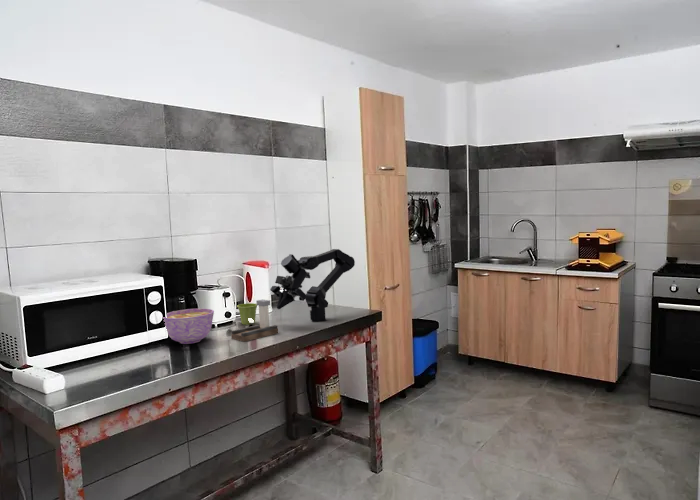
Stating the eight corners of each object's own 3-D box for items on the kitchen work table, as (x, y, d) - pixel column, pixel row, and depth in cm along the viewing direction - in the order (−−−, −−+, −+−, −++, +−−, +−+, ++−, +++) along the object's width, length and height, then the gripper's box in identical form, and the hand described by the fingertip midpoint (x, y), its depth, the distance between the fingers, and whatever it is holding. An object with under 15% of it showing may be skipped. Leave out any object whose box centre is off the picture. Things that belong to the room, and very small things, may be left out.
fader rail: (265, 330, 219) (264, 323, 219) (278, 333, 213) (277, 325, 212) (231, 338, 207) (231, 330, 206) (244, 341, 200) (243, 333, 200)
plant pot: (261, 321, 239) (260, 302, 238) (255, 325, 230) (254, 306, 229) (241, 321, 240) (240, 303, 239) (235, 326, 231) (234, 307, 230)
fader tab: (264, 326, 216) (262, 299, 215) (271, 328, 212) (270, 300, 212) (258, 327, 214) (256, 300, 213) (265, 329, 210) (263, 301, 209)
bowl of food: (165, 338, 212) (163, 311, 211) (214, 333, 218) (212, 306, 217) (162, 350, 193) (160, 320, 192) (217, 344, 199) (215, 315, 198)
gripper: (272, 267, 227) (253, 295, 220) (299, 269, 214) (280, 299, 207) (287, 283, 233) (269, 310, 226) (314, 285, 220) (295, 315, 213)
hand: (277, 308), depth 218 cm, fingers closed
